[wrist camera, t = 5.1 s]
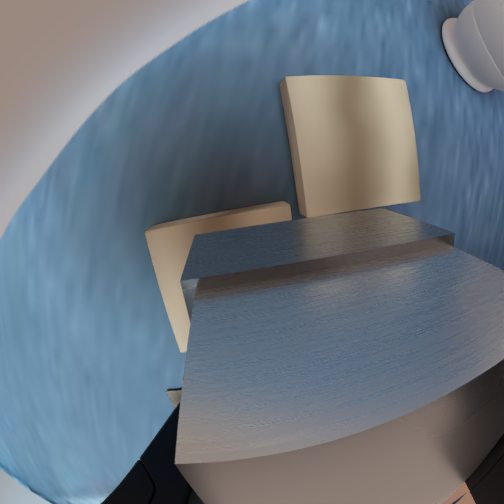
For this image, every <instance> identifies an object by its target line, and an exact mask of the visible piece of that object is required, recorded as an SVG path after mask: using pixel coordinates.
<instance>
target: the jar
mask: <svg viewBox="0 0 504 504" xmlns="http://www.w3.org/2000/svg"><path fill="white" fill-rule="evenodd" d="M442 38H443V42H444V46H445V49H446V51H447V54H448V56H449V58H450V60H451V62H452V63H453V65H454V67H455V68H456V70H457V71H458V73H459V74H460V75H461V77H462V78H463V79H464V80H465V81H466V82H467V83H468V84H469V85H470V86H471V87H473V88H474V89H476V90H478V91H480V92H489V91H491V90H492V89H493V88H495V89H497V90H500V91H503V92H504V0H474V1H473V2H471V3H470V4H469V5H467V6H466V7H465V8H464V9H463V10H462V12H461V13H460V15H459V17H458V18H449V19H447V20H446V21H445V22H444V23H443V26H442Z"/></svg>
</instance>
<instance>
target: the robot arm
mask: <svg viewBox="0 0 504 504" xmlns="http://www.w3.org/2000/svg"><path fill="white" fill-rule="evenodd" d="M179 410H180V402H179V404H178V405H177V407H176V408H175V409H174V411H173V412H172V414H171V415H170V416H169V418H168V419H167V421H166V422H165V424H164V425H163V426H162V428H161V429H160V431H159V432H158V433H157V435H156V436H155V438H154V439H153V440H152V442H151V443H150V444H149V446H148V447H147V449H146V450H145V451H144V453H143V454H142V455H141V457H140V460H141V461H140V460H138V461H137V462H136V463H135V465H134V466H133V468H132V469H131V470H130V472H129V473H128V474H127V475H126V477H125V478H124V479H123V480H122V482H121V483H120V484H119V485H118V486H117V487H116V488H115V490H114V491H113V492H112V493H111V494H110V495H109V496H108V497H107V498H106V499H105V500H104V501H103V502H102V503H101V504H204V502H203V501H202V500H201V499H200V497H199V496H198V495H197V494H196V492H195V491H194V490H193V488H192V487H191V486H190V484H189V483H188V482H187V480H186V479H185V478H184V476H183V475H182V474H181V472H180V471H179V469H178V468H177V466H176V465H175V454H176V442H177V431H178V420H179ZM465 483H466V484H467V487H468V488H469V490H470V493H471V495H472V497H473V499H474V501H475V503H476V504H504V434H503V435H502V436H501V438H500V439H499V440H498V442H497V443H496V445H495V446H494V447H493V448H492V450H491V451H490V452H489V454H488V455H487V456H486V457H485V459H484V460H483V461H482V462H481V463H480V465H479V466H478V467H477V468H476V469H475V470H474V472H473V473H472V474H471V475H470V476H469V477H468V478H467V479H466V480H465Z"/></svg>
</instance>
